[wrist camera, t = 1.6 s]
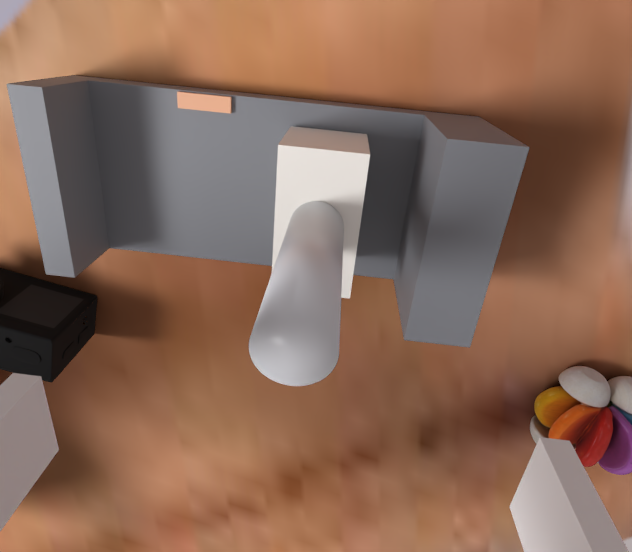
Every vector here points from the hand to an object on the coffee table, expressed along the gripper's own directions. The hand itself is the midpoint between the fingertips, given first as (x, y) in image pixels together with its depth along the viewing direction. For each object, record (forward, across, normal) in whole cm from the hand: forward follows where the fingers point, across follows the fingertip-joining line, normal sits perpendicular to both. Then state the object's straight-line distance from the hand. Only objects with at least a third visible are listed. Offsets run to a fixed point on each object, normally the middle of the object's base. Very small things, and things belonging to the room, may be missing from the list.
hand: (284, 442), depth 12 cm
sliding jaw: (+22, 0, 0) cm, 22 cm away
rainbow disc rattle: (+25, +25, -17) cm, 39 cm away
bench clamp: (+24, -4, 0) cm, 25 cm away
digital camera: (+25, -24, -12) cm, 37 cm away
